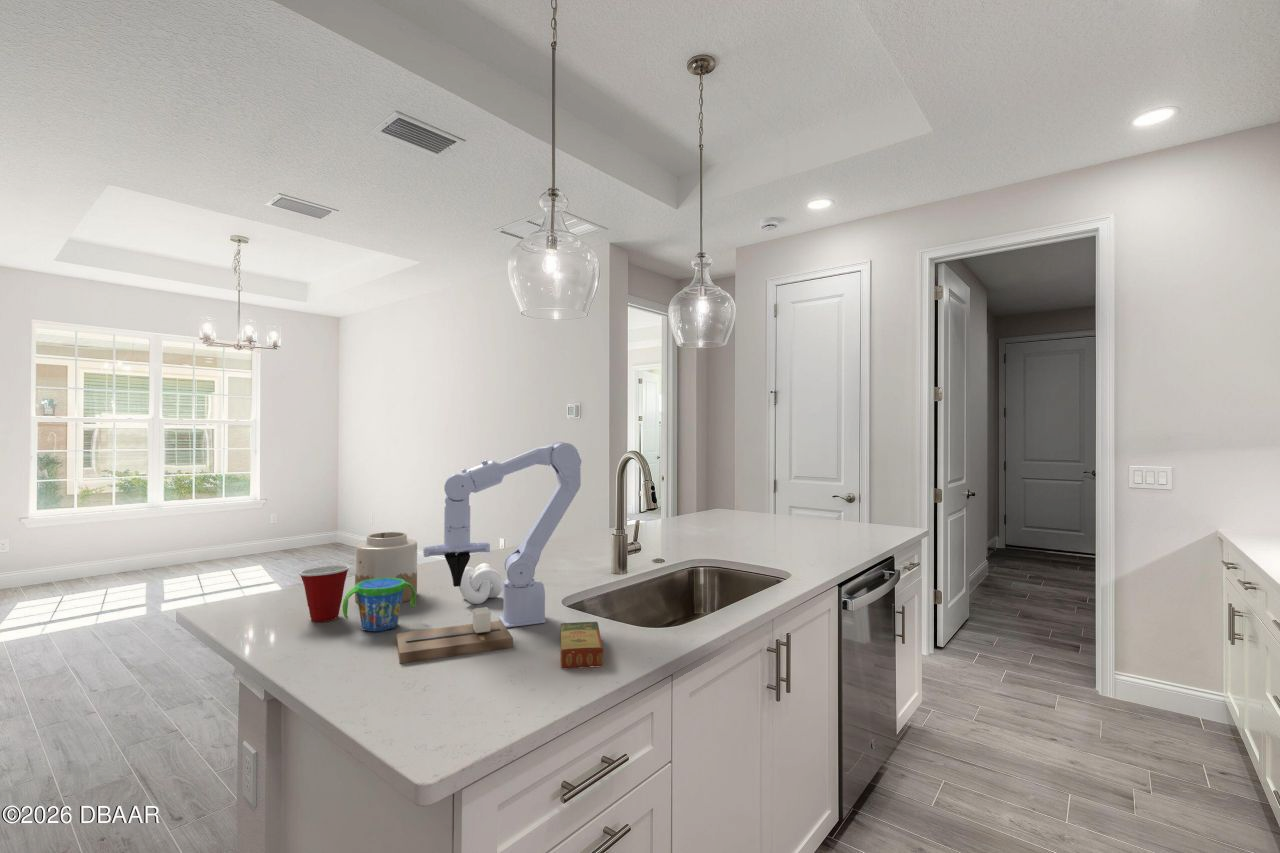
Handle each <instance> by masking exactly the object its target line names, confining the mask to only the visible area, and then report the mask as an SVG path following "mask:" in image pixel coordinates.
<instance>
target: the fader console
mask: <svg viewBox="0 0 1280 853" xmlns="http://www.w3.org/2000/svg"><path fill="white" fill-rule="evenodd" d="M513 639H514V637H513V636H512V635H511V633H510V631H509V630H508V627H507V628H506V627H505V625H504V624H503V622H502V621H501V620H495V621H493V620H492V621H491V623H490V631H488V632H480V633H476V632H475V630H474V628H473V623H470V624H463V625H454V626H447V627H446V626H445V627H437V628H428V629H423V630H413V631H405V632H398V633H396V646H397V655H398V661H399V664H405V663H412V662H418V661H419V662H420V661H426V660H432V659H433V660H434V659H441V658H448V657H454V656H461V655H467V654H474V653H482V652H488V651H495V650H500V649H501V650H503V649H510V648H513V647H514V646H513V644H514V640H513Z"/></svg>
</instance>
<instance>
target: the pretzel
mask: <svg viewBox="0 0 1280 853" xmlns="http://www.w3.org/2000/svg"><path fill="white" fill-rule="evenodd" d="M458 589H459V591H460V593H461V595H462V597H463V599H465V600H466V601H468V602H469V603H470V604H473V605H480V604H483V603H484V602H485V601H487V599H494V598H497V597H498V596H500V595H501V594H502V592H503V591H504V578H503V577H502V575H501V574H500V573H499V572H498V571H497V570H495V569H493V568H492V566H491V564H488V563H486V562H483V563H480V564H479V565H477V566H476V567H475V568H473V567H471V566H466V568H465V570H464V573H463V576H462V580H461V586H458Z"/></svg>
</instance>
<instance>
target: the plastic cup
mask: <svg viewBox="0 0 1280 853" xmlns="http://www.w3.org/2000/svg"><path fill="white" fill-rule="evenodd" d="M349 570H350V565H346V564H342V565H341V564H339V565H337V564H336V565H324V566H320V567H319V566H318V567H311V568H309V569H304V570H301V571H299V572H298V575H299V576H300V578H301V580H302V583H303V586H304V592H305V598H306V603H307V607H308V610H309V617H310V619H311V621H312V622H316V623H323V622H330V621H334V620H336V619H337V618H339V615H340V611H341V609H340V608H341V604H342V603H343V602H342V600H343V595H344V591H345V590H344V589H345V584H346V579H347V575H348V572H349Z"/></svg>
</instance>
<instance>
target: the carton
mask: <svg viewBox="0 0 1280 853" xmlns="http://www.w3.org/2000/svg"><path fill="white" fill-rule="evenodd" d="M600 632H601V631H600V627H599V623H598V621H577V622H564V623H563V622H562V623H560V633H559V642H560V669H561V668H567V669H580V668H579V667H590V666H602V667H603V658H604V646H603V643H602V638H601V633H600ZM590 668H591V667H590Z"/></svg>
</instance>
